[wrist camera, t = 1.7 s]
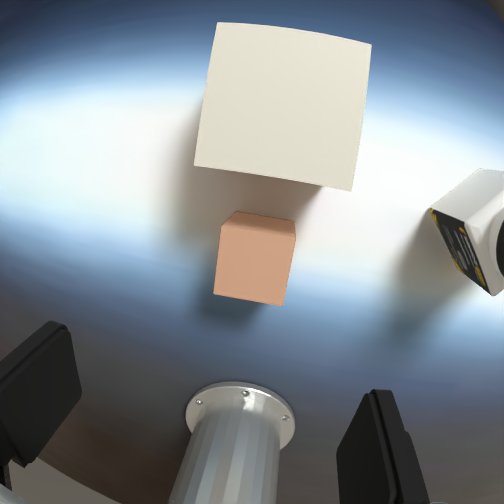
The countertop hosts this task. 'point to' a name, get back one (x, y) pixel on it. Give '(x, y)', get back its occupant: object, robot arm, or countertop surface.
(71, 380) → the robot arm
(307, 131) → the cream block
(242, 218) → the terracotta block
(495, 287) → the medicine bottle
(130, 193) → the countertop surface
